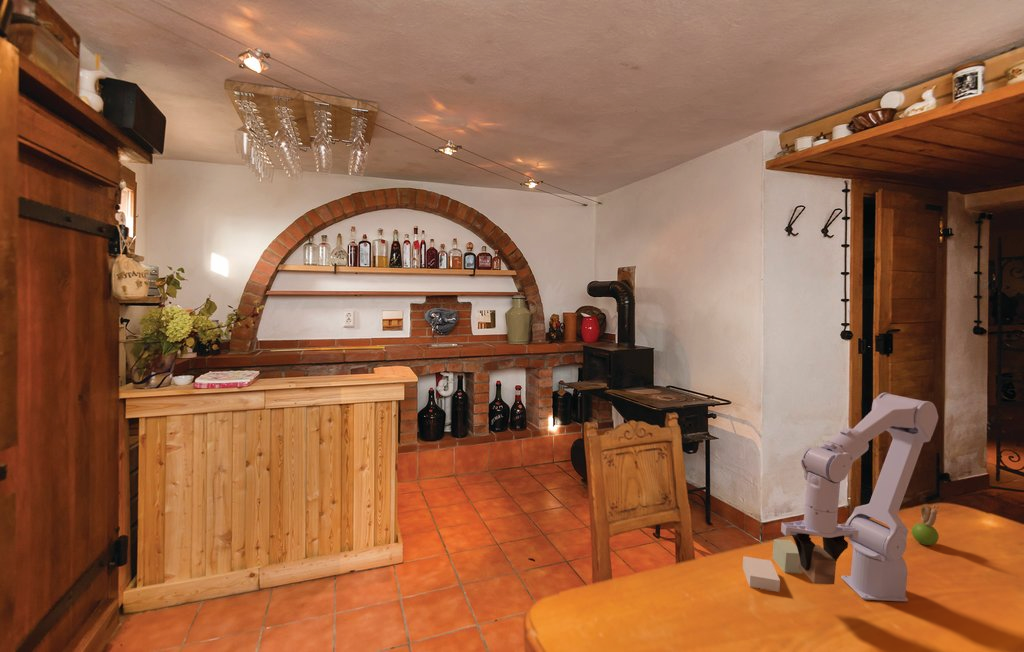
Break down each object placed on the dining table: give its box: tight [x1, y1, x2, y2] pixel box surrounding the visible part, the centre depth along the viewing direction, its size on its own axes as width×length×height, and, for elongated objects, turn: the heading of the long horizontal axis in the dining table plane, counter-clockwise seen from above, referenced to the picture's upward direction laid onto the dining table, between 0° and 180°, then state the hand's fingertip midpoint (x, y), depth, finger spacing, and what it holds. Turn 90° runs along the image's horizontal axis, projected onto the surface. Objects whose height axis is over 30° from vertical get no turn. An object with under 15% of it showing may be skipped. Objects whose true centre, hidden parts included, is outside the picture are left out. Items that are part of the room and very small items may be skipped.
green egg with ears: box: [911, 504, 940, 546], centre depth 127 cm, size 5×6×12 cm
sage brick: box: [772, 538, 803, 575], centre depth 116 cm, size 4×6×5 cm, turn 177°
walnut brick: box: [798, 544, 837, 585], centre depth 101 cm, size 4×6×5 cm, turn 177°
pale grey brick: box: [742, 556, 781, 593], centre depth 111 cm, size 6×8×3 cm
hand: (816, 568), depth 101 cm, fingers closed on walnut brick, 4 cm apart
